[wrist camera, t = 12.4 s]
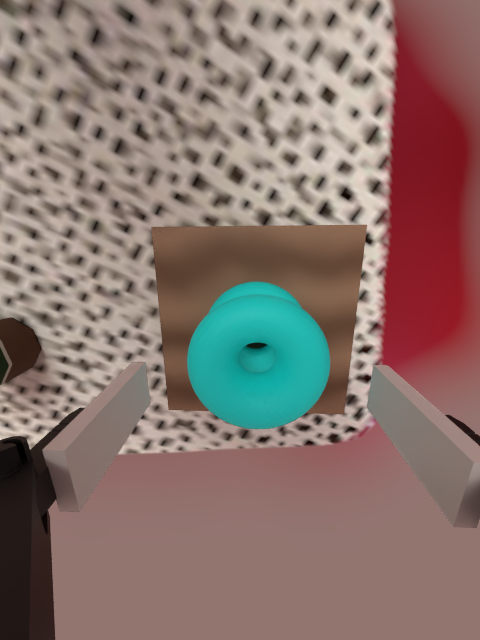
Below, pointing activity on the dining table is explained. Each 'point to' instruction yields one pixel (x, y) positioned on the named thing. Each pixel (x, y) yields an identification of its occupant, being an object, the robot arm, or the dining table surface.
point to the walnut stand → (258, 266)
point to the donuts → (258, 357)
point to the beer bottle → (16, 349)
